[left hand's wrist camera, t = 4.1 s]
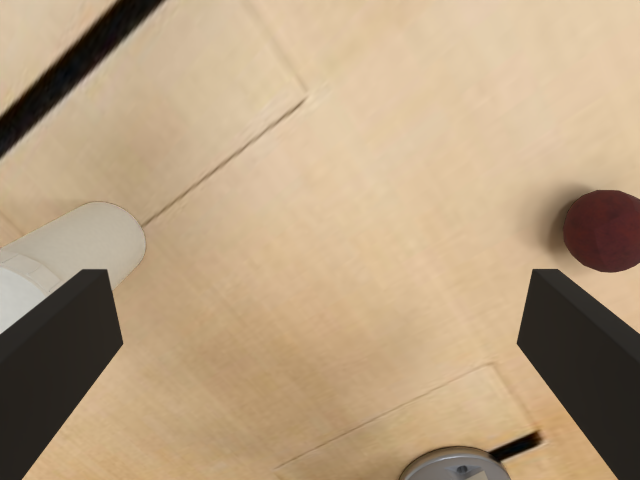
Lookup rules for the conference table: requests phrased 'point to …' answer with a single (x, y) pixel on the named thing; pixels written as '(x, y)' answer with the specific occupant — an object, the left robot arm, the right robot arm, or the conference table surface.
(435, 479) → the right robot arm
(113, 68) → the conference table surface
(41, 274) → the lid
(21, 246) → the jar
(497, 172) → the conference table surface
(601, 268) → the dark red ball
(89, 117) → the conference table surface
